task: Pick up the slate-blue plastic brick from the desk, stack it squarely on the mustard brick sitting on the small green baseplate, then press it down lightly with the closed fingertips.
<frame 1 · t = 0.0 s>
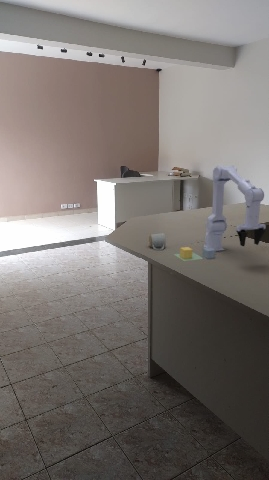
hand: (249, 244, 168), 10 cm above the countertop, fingers open, 7 cm apart
yellow brick: (185, 257, 180), resting on baseplate
baseplate: (188, 257, 182), on the countertop
blue brick: (208, 258, 181), on the countertop
ceramic mug: (158, 248, 196), on the countertop
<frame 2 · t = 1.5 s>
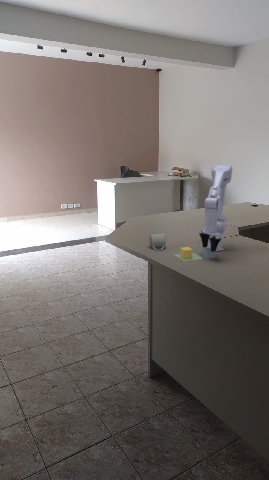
hand: (209, 249, 180), 4 cm above the countertop, fingers open, 7 cm apart
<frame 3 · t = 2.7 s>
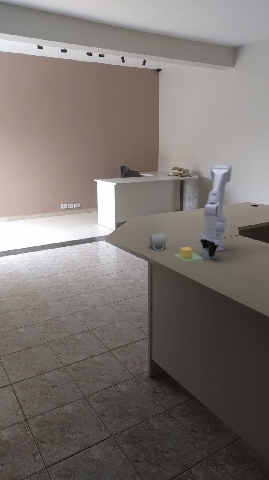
hand: (208, 255, 181), 1 cm above the countertop, fingers closed on blue brick, 4 cm apart
blue brick: (208, 257, 181), on the countertop, touching gripper
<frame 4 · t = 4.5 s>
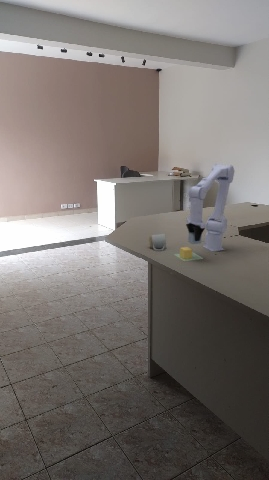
hand: (194, 239, 178), 10 cm above the countertop, fingers closed on blue brick, 4 cm apart
blue brick: (194, 242, 178), point 8 cm above the countertop, touching gripper
when the fingers open (7 cm above the countertop, at t = 6.1 s): blue brick stays where it is, resting on yellow brick.
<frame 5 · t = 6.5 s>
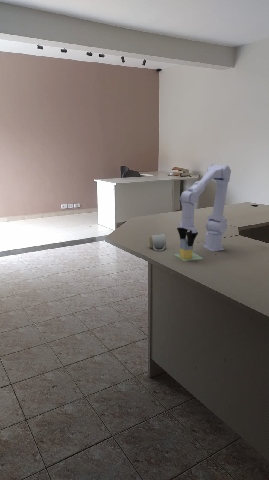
hand: (186, 243, 178), 7 cm above the countertop, fingers open, 7 cm apart
yellow brick: (185, 257, 180), resting on baseplate, touching blue brick
blue brick: (186, 248, 179), point 5 cm above the countertop, touching yellow brick
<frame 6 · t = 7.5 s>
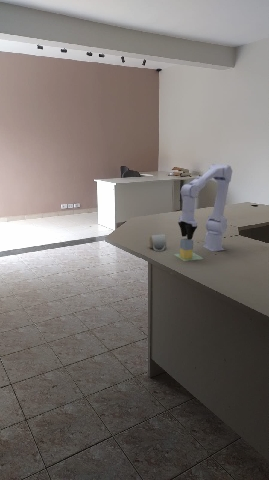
hand: (186, 237, 177), 10 cm above the countertop, fingers open, 5 cm apart
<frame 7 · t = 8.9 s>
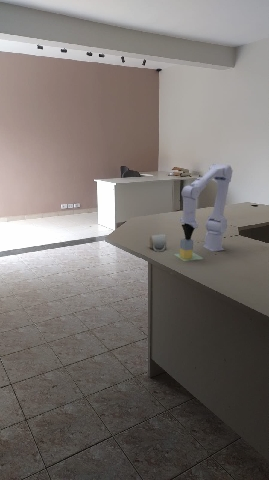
hand: (188, 239, 178), 10 cm above the countertop, fingers closed
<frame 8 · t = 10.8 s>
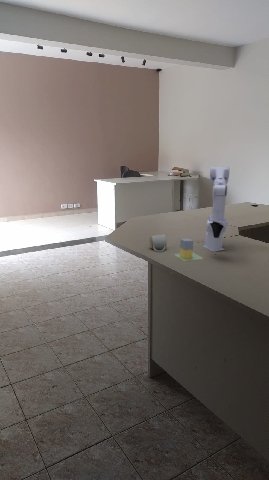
hand: (216, 237, 178), 10 cm above the countertop, fingers closed
at the end: blue brick 0.1 cm off-centre on the yellow brick, point 4.5 cm above the yellow brick's base; blue brick tilted 0°; yellow brick tilted 0° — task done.
